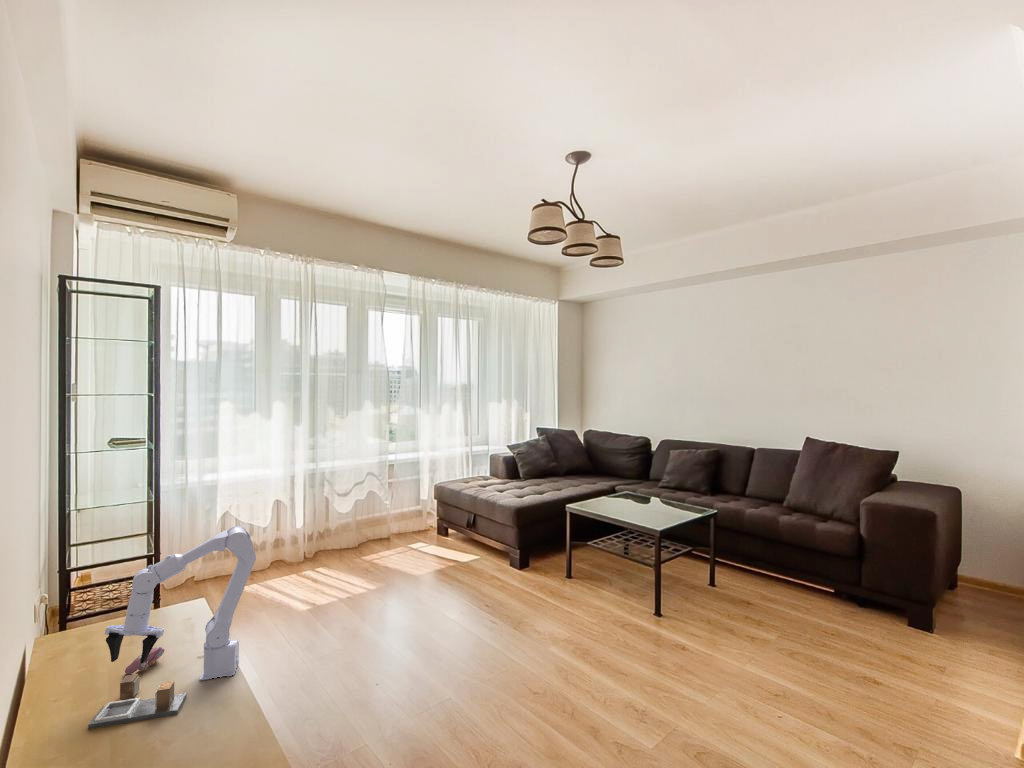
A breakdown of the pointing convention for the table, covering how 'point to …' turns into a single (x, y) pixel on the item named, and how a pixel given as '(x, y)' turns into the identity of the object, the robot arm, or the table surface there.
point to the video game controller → (151, 659)
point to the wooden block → (129, 687)
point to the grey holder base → (140, 708)
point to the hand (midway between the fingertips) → (128, 661)
